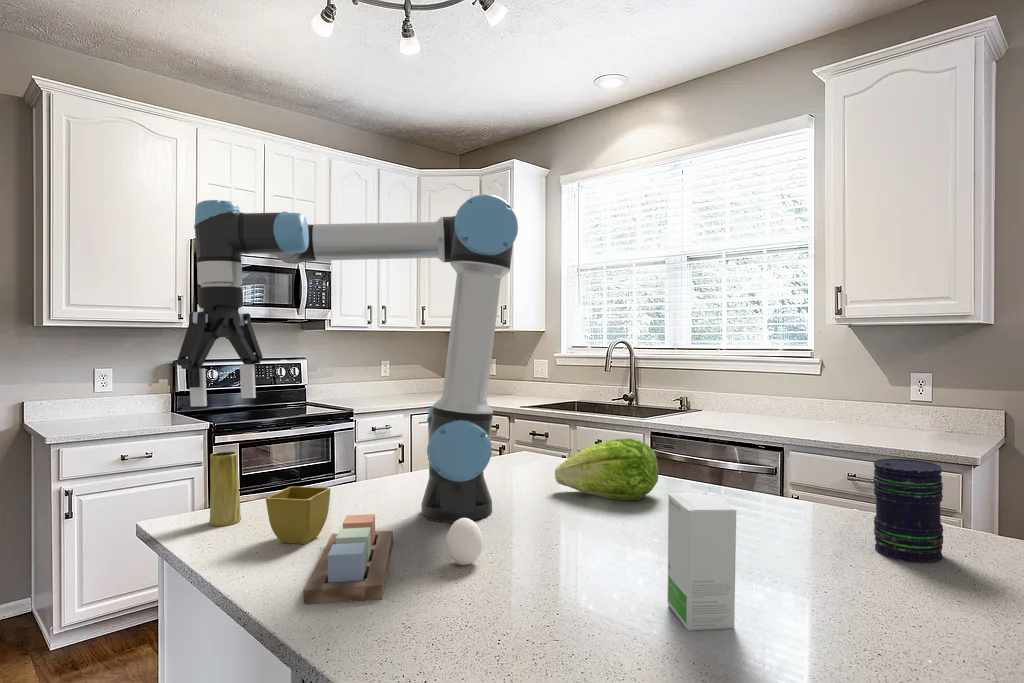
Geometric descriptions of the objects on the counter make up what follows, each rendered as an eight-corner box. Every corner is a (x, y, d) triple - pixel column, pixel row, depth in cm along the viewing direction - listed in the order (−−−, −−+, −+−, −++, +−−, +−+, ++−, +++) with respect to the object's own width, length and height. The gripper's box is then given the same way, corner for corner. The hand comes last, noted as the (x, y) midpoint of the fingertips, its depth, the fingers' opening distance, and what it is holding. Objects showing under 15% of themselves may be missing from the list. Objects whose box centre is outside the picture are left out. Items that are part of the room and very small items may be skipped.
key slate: (366, 568, 98) (365, 542, 98) (362, 580, 93) (362, 553, 93) (333, 570, 97) (332, 544, 97) (328, 582, 92) (327, 555, 92)
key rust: (375, 536, 114) (374, 514, 114) (372, 545, 109) (372, 522, 109) (346, 537, 113) (346, 515, 113) (343, 546, 108) (342, 523, 108)
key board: (393, 541, 117) (393, 530, 117) (382, 598, 91) (382, 584, 91) (332, 544, 115) (331, 533, 115) (303, 604, 90) (303, 590, 90)
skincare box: (666, 604, 87) (665, 492, 87) (713, 602, 88) (711, 490, 88) (688, 633, 79) (686, 509, 79) (739, 630, 80) (737, 507, 79)
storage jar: (933, 546, 109) (932, 460, 109) (952, 566, 100) (951, 472, 100) (868, 541, 112) (867, 457, 112) (881, 560, 103) (879, 468, 103)
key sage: (371, 550, 106) (370, 527, 106) (368, 561, 101) (367, 536, 101) (340, 552, 105) (340, 528, 105) (336, 563, 100) (335, 538, 100)
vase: (214, 528, 127) (212, 457, 127) (205, 522, 131) (203, 453, 131) (245, 522, 131) (244, 453, 131) (235, 516, 135) (234, 449, 135)
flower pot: (309, 549, 113) (308, 499, 113) (265, 546, 115) (264, 497, 115) (332, 533, 122) (331, 487, 122) (291, 531, 124) (290, 486, 124)
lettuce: (565, 456, 161) (545, 435, 149) (661, 447, 152) (647, 425, 141) (564, 512, 154) (543, 495, 142) (665, 506, 145) (651, 488, 133)
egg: (441, 561, 106) (440, 515, 106) (475, 555, 108) (474, 511, 108) (452, 573, 100) (452, 525, 100) (488, 567, 103) (487, 520, 103)
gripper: (245, 291, 129) (249, 395, 129) (149, 282, 105) (155, 410, 105) (278, 289, 127) (282, 394, 127) (188, 280, 103) (193, 410, 103)
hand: (225, 402), depth 116 cm, fingers open, 13 cm apart
